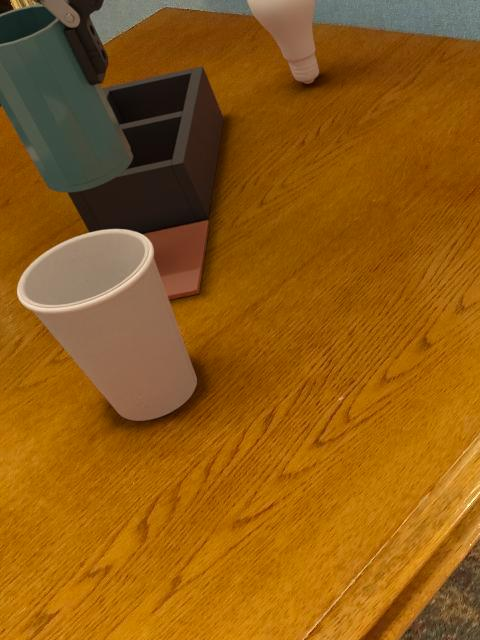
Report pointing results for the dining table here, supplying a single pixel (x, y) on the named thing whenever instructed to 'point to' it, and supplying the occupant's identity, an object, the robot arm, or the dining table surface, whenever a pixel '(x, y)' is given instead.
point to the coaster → (180, 257)
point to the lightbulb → (291, 32)
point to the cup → (57, 104)
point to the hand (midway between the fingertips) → (48, 90)
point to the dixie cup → (113, 320)
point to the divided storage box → (159, 155)
